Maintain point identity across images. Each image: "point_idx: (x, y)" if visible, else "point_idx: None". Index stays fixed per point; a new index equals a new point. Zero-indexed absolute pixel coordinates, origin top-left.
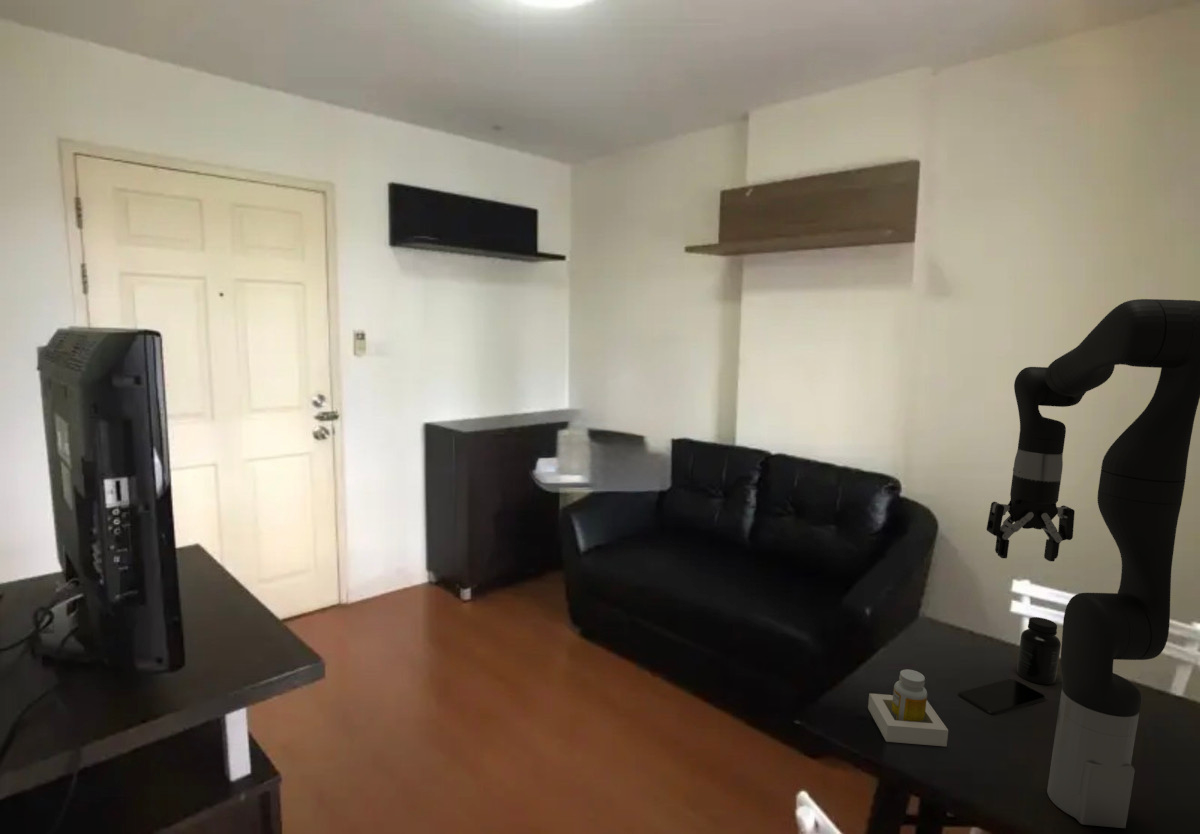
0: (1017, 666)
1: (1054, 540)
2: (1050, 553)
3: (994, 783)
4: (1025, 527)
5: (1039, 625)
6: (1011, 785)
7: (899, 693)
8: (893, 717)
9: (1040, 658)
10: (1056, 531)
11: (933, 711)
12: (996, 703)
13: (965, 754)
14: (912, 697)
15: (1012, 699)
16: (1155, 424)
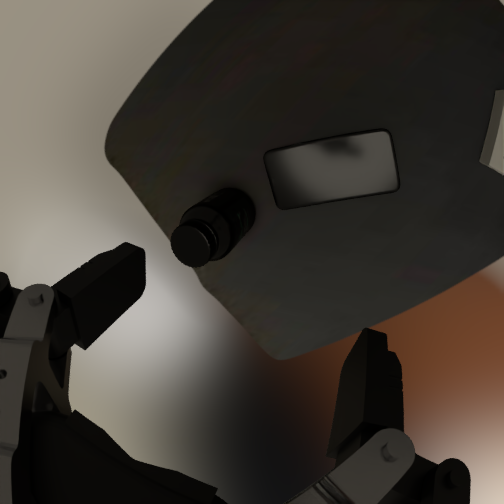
0: (250, 228)
1: (55, 308)
2: (118, 273)
3: (478, 22)
4: (199, 492)
5: (205, 237)
6: (461, 12)
7: None
8: None
9: (230, 204)
10: (7, 338)
11: (499, 131)
12: (361, 149)
13: (482, 70)
14: None
15: (325, 154)
16: None
